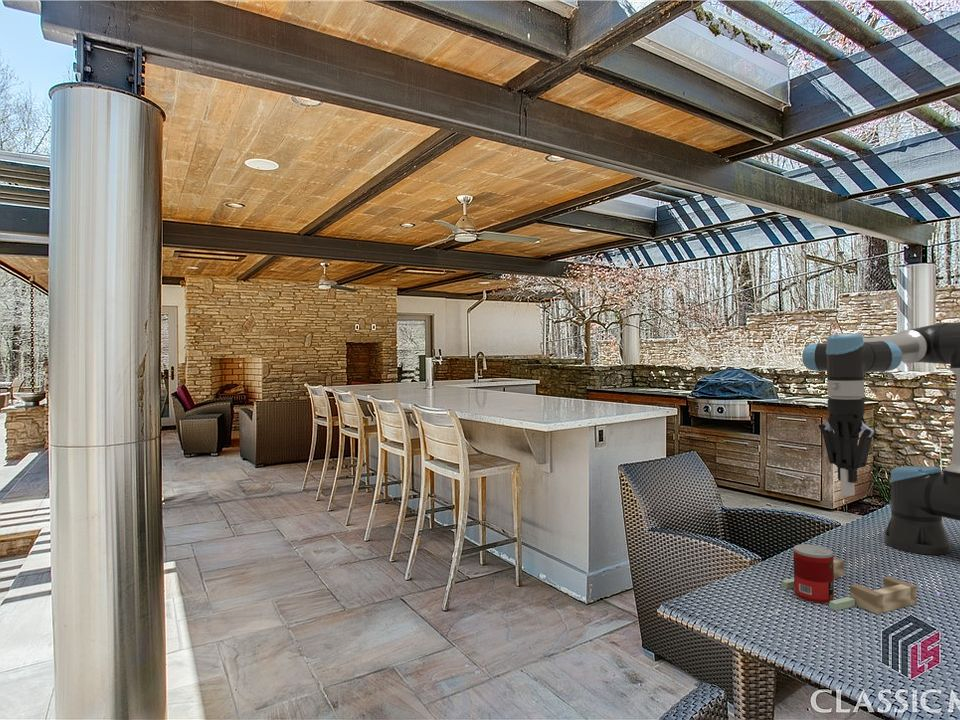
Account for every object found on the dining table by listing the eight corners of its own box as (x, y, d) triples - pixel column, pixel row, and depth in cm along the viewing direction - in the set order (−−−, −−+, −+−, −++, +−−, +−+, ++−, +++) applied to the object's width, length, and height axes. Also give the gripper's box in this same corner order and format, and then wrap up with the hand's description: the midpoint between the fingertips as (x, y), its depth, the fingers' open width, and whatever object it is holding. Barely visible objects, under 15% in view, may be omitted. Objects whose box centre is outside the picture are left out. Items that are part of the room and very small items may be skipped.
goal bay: (799, 582, 139) (799, 576, 139) (855, 606, 126) (854, 599, 126) (781, 586, 137) (781, 580, 137) (835, 610, 124) (835, 603, 124)
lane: (837, 573, 144) (836, 558, 144) (916, 603, 126) (916, 586, 126) (799, 581, 139) (799, 565, 139) (876, 614, 122) (876, 595, 122)
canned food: (838, 605, 126) (838, 556, 126) (799, 601, 128) (798, 553, 128) (827, 591, 134) (827, 545, 134) (790, 588, 136) (789, 542, 136)
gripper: (810, 397, 140) (812, 491, 141) (861, 400, 128) (863, 503, 128) (831, 395, 143) (833, 487, 143) (883, 398, 131) (886, 499, 131)
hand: (847, 495), depth 136 cm, fingers closed
